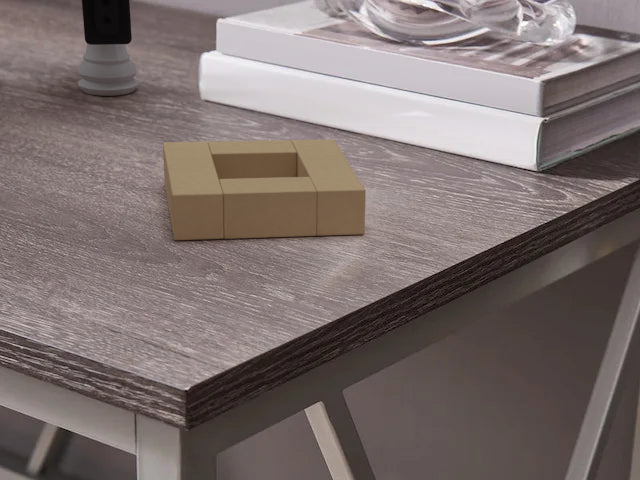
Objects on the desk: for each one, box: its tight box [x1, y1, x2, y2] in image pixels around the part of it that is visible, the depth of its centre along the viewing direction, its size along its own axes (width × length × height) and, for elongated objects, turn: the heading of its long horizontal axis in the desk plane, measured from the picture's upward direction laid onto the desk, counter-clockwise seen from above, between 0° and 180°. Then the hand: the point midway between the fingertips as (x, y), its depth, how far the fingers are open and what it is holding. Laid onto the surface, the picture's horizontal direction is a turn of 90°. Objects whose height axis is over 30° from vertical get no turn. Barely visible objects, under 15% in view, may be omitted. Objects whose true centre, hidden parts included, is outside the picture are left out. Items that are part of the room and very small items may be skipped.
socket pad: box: [162, 138, 366, 241], centre depth 72 cm, size 10×10×2 cm
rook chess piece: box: [77, 43, 139, 97], centre depth 95 cm, size 4×4×8 cm
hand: (107, 29), depth 95 cm, fingers open, 9 cm apart
